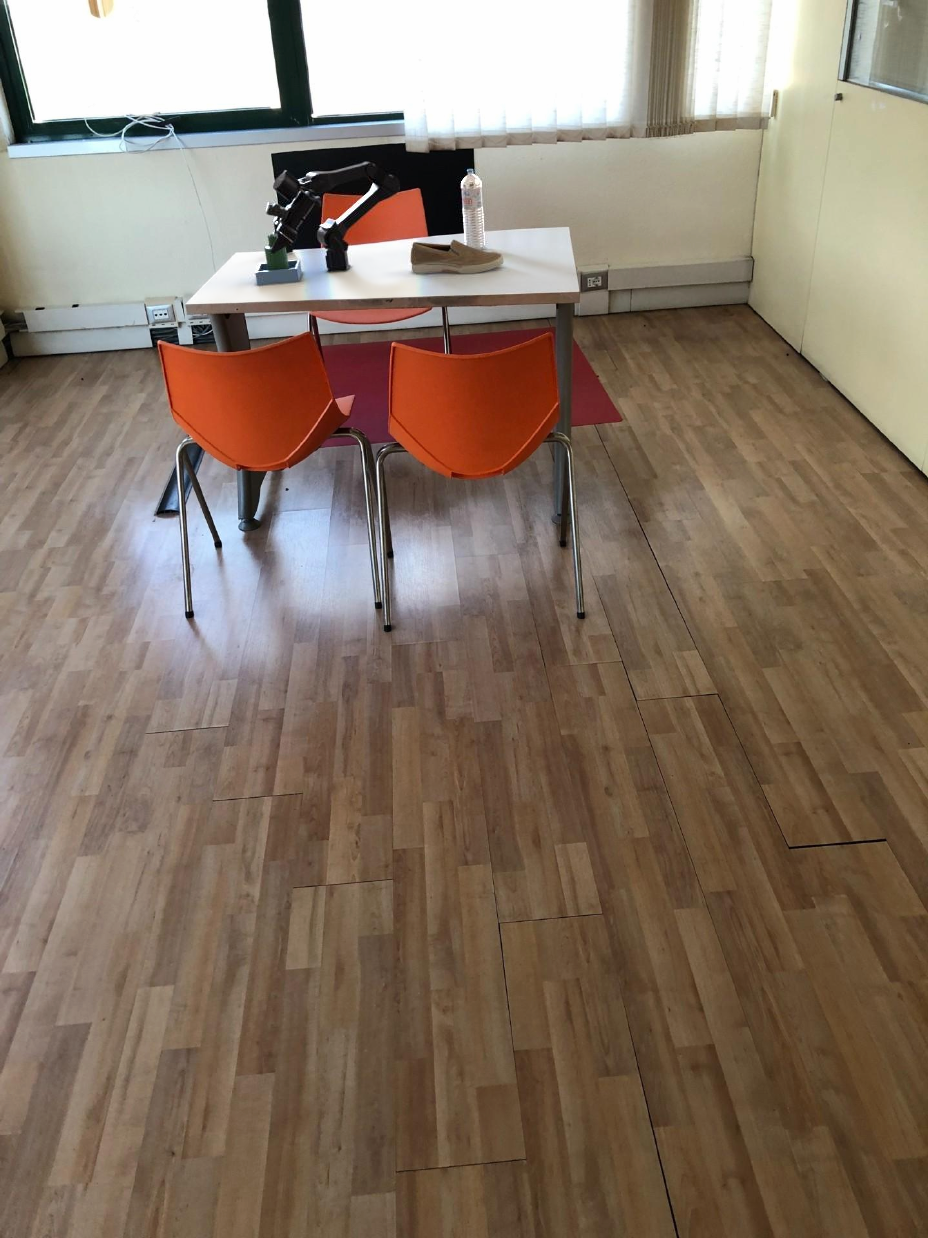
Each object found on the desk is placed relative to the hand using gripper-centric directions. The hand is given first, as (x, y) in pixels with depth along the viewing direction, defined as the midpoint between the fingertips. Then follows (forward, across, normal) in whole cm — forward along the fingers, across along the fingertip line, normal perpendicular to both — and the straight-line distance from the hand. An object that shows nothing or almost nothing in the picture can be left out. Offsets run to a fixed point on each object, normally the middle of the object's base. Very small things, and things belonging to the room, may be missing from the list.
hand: (270, 249), depth 308 cm
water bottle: (-42, -6, +55) cm, 70 cm away
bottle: (+5, 0, +7) cm, 9 cm away
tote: (+6, 0, +8) cm, 9 cm away
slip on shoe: (-34, +20, +47) cm, 61 cm away
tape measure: (+2, -36, +11) cm, 38 cm away
